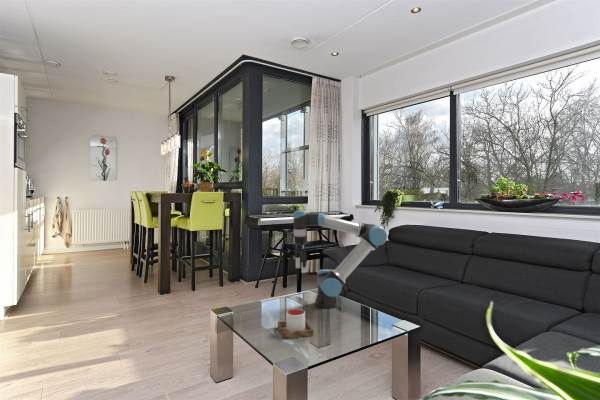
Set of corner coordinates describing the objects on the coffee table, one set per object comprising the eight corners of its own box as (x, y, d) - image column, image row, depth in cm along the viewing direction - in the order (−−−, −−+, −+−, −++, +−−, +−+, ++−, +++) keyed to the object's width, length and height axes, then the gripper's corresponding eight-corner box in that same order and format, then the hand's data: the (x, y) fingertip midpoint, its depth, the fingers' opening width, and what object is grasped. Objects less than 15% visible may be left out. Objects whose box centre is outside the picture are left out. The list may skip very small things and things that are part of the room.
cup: (303, 334, 184) (303, 315, 184) (284, 333, 186) (284, 314, 186) (306, 327, 194) (306, 309, 194) (288, 326, 196) (288, 308, 196)
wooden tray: (305, 324, 200) (305, 319, 200) (313, 335, 184) (313, 330, 184) (277, 327, 196) (277, 321, 196) (283, 338, 181) (282, 333, 181)
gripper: (289, 233, 229) (290, 266, 229) (299, 238, 205) (300, 275, 205) (300, 233, 231) (301, 265, 231) (312, 238, 207) (312, 274, 207)
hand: (300, 270), depth 218 cm, fingers open, 13 cm apart
